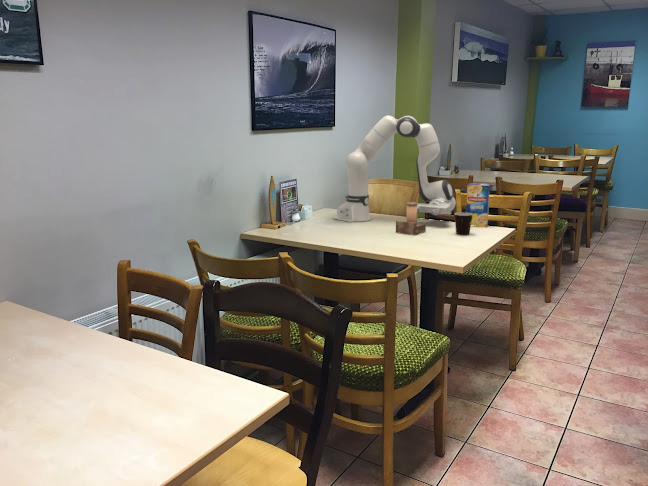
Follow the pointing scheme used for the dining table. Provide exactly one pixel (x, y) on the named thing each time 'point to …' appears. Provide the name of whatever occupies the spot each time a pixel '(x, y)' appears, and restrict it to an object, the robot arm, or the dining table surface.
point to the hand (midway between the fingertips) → (424, 211)
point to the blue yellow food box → (478, 203)
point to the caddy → (409, 228)
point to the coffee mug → (463, 223)
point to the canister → (411, 212)
